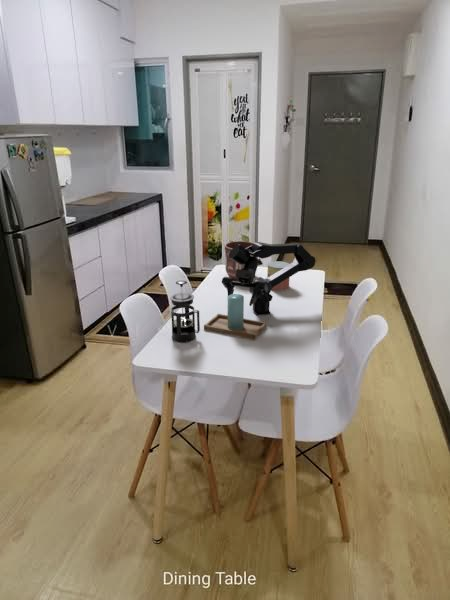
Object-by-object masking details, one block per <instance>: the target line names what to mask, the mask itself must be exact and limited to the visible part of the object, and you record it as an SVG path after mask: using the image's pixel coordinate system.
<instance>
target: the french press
mask: <svg viewBox="0 0 450 600" xmlns="http://www.w3.org/2000/svg"><path fill="white" fill-rule="evenodd" d="M187 283H188V281H187V280H177V281H176V282H175V284H176V285H179V286H180V290H181V291H180V292H178V293H177V292H176V293H174V294H172V295H170V296H169V299H170V300H171V304H172V305H173V306H172V307H171V308H170V314H171V339H172V340H173V341H174V342H176V343H183V344H184V343H190V342H192V341H195V339H196V338H197V334H199V333H200V331H201V328H200V327H201V326H200V310H198V309H195V306H193V305H192V304H194V299H195V296H194V294H192V293H190V292H189V293H188V292H183V286H184V285H187ZM177 309H181V313H179V312H174V311H175V310H177ZM190 310H192V311H190ZM195 313H196V316H195ZM190 316H192V317H191V318H190ZM175 317H176V318H175ZM195 318H197V319H195ZM196 321H197V322H196ZM195 322H196V323H197V327H196V324H195ZM196 328H197V329H196ZM184 333H185V334H184Z"/></svg>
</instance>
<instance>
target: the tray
mask: <svg viewBox="0 0 450 600" xmlns="http://www.w3.org/2000/svg"><path fill="white" fill-rule="evenodd" d="M267 324H268V323H267V322H264V321H259V320H254V319H249V318H243V325H244V327H243V329H241V330H231V329H229V328H228V327H227V325H228V314H221V313H217V314H216V315H215V316H213V317H212V318H211V319H210V320H209V321H208V322H206V323H205V324H204V325H203V330H204V331H205V330H206V331H210V332H215V333H220V334H222V335H223V334H225V335H229V336H233V337H239V338H244V339H247V340H253V341H255V340H256V339H257V338H258V336H260V335H261V333H262V332H263V331H264V330H265V329H266V328H267Z"/></svg>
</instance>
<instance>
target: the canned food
mask: <svg viewBox="0 0 450 600" xmlns="http://www.w3.org/2000/svg"><path fill="white" fill-rule="evenodd" d="M289 264H290V263H289V262H286V261H276V260H275V261H271V262H268V263H267V276H266V277H267V278H268V277H270V276H271V275H273V274H275V273H276V272H278V271H280V270H281V269H283V268H285V267H286V266H288V265H289ZM289 289H290V277H289V278H287V279H286V280H284V281H283V282H281V283H279V284H278V285H276V286H275V287H273V288H272V290H271V291H274V292H282V291H287V290H289Z"/></svg>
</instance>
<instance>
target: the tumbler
mask: <svg viewBox="0 0 450 600" xmlns="http://www.w3.org/2000/svg"><path fill="white" fill-rule="evenodd" d="M244 300H245V296H244V295H243V294H240V293H233V294H231V295H229V296H228V295H227V315H228V325H227V327H228V328H229V329H231V330H241V329H243V327H244V325H243V318H244V308H245V307H244V306H245V305H244V303H245V301H244ZM244 319H245V318H244Z"/></svg>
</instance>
